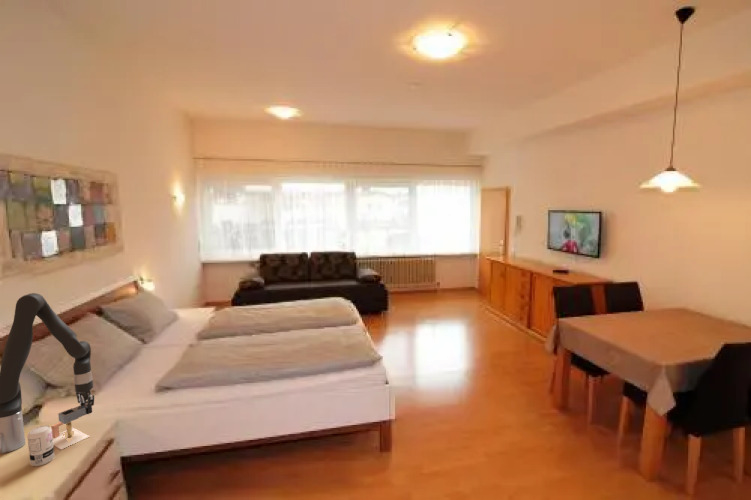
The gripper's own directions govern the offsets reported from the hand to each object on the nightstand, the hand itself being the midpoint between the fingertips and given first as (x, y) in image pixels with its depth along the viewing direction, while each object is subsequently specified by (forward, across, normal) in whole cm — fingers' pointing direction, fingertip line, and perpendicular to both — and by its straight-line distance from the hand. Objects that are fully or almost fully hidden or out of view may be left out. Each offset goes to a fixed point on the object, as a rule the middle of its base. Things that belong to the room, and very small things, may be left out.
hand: (86, 412), depth 197 cm
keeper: (+9, -8, -7) cm, 14 cm away
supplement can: (+10, +11, -23) cm, 27 cm away
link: (0, 0, -5) cm, 5 cm away
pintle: (+10, 0, -8) cm, 13 cm away
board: (+10, 0, -9) cm, 13 cm away
